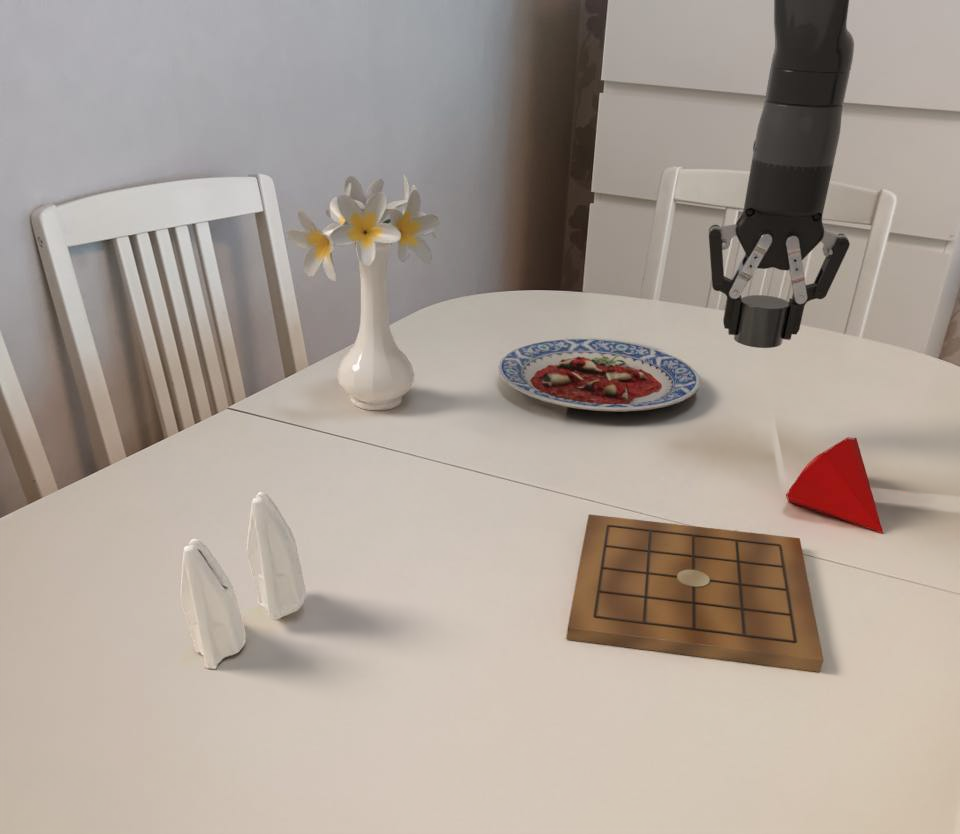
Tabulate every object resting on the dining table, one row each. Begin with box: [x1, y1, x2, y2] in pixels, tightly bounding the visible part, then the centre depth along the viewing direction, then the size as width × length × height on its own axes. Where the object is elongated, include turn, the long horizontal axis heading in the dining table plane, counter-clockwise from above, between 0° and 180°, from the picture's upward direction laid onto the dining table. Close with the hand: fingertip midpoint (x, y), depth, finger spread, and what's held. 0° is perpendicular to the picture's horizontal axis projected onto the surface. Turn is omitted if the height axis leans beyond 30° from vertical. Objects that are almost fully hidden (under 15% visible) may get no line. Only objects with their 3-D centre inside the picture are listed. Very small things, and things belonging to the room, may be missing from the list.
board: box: [566, 513, 824, 673], centre depth 85 cm, size 20×20×1 cm
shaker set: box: [179, 491, 307, 670], centre depth 75 cm, size 12×4×11 cm, turn 143°
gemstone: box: [785, 437, 884, 534], centre depth 97 cm, size 9×9×10 cm
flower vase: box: [285, 173, 441, 411], centre depth 111 cm, size 13×18×25 cm
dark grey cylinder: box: [733, 294, 790, 349], centre depth 101 cm, size 5×5×4 cm
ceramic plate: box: [498, 338, 701, 412], centre depth 125 cm, size 26×26×3 cm
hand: (759, 334), depth 102 cm, fingers closed on dark grey cylinder, 5 cm apart
